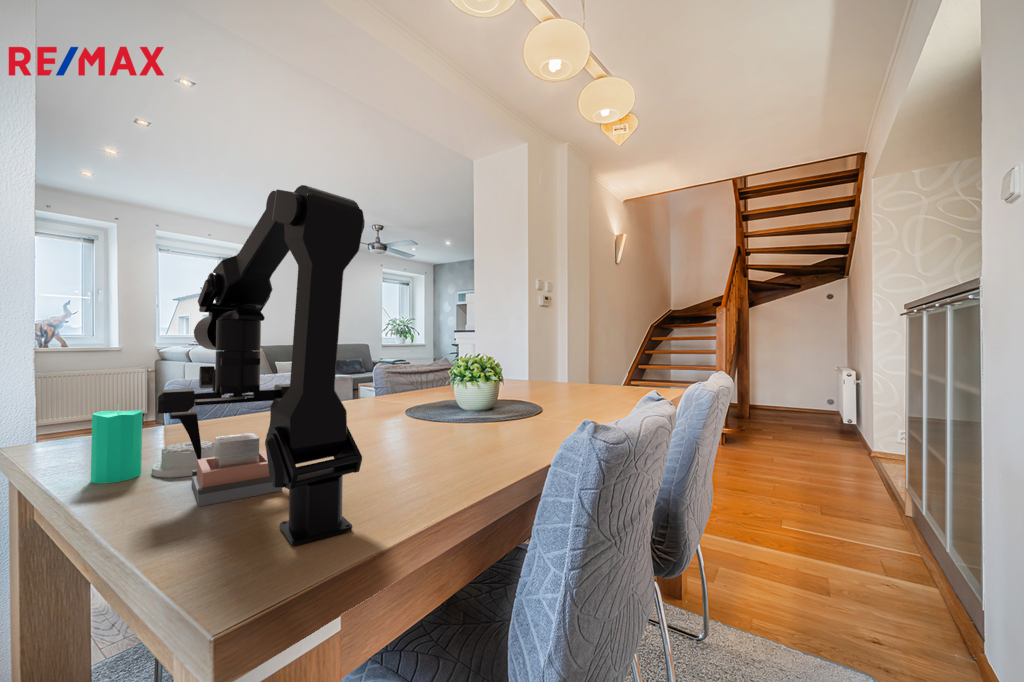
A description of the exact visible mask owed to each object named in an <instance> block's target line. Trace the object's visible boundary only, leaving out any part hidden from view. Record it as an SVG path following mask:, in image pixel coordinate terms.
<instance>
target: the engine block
mask: <svg viewBox="0 0 1024 682" xmlns="http://www.w3.org/2000/svg"><path fill="white" fill-rule="evenodd" d="M214 438H215V442H214V443H215V469H222V468H229V467H235V466H242V465H249V464H256V463H259V451H260V437H259V436H258V435H256V433H254V432H249V433H238V434H229V435H221V436H215V437H214Z"/></svg>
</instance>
